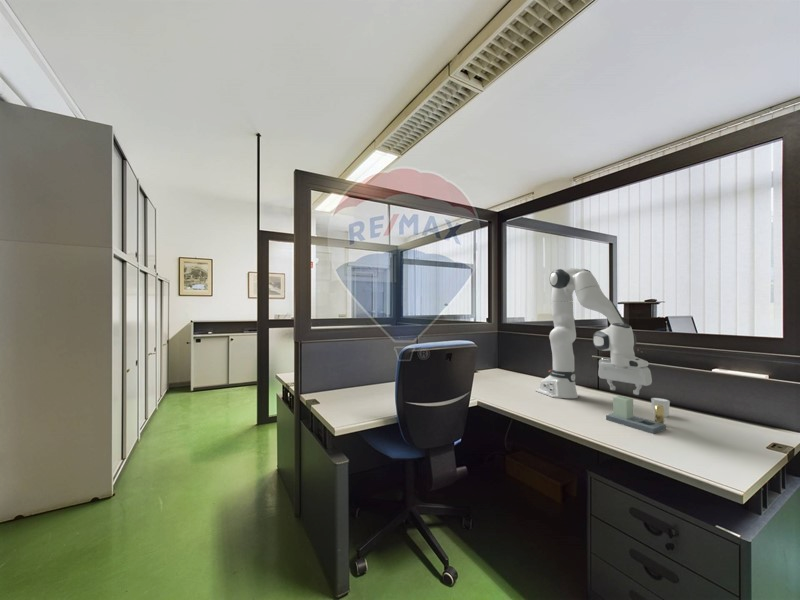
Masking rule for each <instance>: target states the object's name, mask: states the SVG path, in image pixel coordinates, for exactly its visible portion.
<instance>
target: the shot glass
mask: <svg viewBox="0 0 800 600" xmlns="http://www.w3.org/2000/svg"><path fill="white" fill-rule="evenodd" d="M650 402H651V408H652V414H653V415H654V416H655V405H662V406H664V418H667V417H669V415H670V403H671V401H670V400H669V399H666V398H661V397H660V398H659V397H651V398H650Z"/></svg>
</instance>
